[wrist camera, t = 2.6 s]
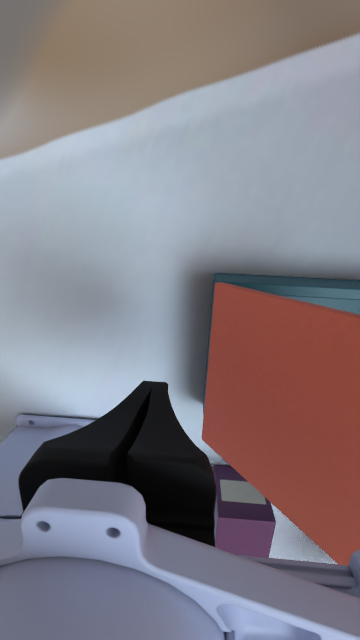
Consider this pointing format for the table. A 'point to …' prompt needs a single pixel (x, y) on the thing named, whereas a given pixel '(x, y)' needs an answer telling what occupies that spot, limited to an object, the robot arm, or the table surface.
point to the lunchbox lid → (289, 408)
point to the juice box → (241, 515)
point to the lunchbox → (296, 292)
